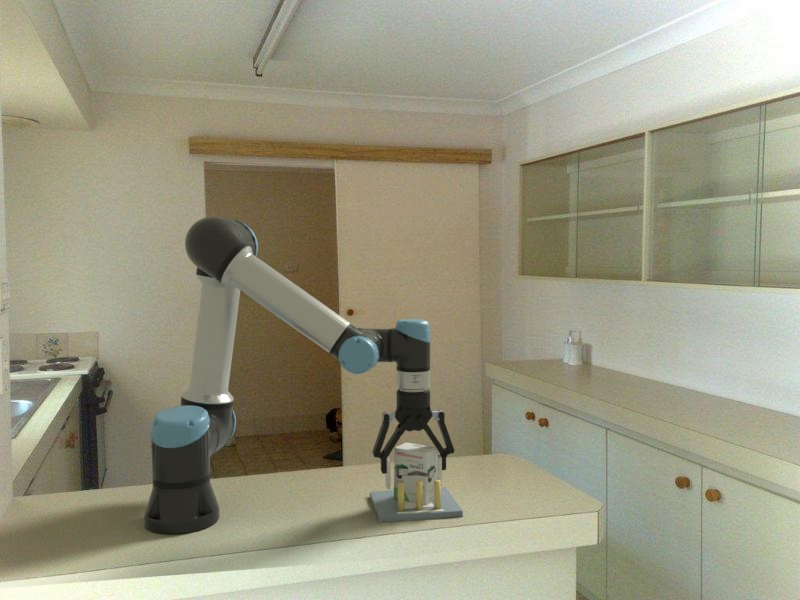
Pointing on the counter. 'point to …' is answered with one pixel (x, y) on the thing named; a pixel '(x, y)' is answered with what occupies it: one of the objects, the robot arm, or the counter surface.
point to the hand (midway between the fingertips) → (413, 485)
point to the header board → (414, 504)
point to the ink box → (415, 470)
